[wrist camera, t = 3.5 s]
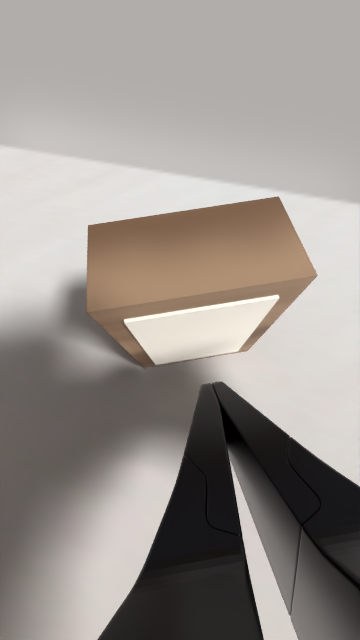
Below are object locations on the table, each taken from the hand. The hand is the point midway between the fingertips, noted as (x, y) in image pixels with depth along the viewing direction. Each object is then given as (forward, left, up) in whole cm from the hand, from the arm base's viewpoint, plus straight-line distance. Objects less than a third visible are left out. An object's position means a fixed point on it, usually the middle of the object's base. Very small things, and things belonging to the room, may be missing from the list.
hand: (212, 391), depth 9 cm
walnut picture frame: (+4, +2, -7) cm, 9 cm away
